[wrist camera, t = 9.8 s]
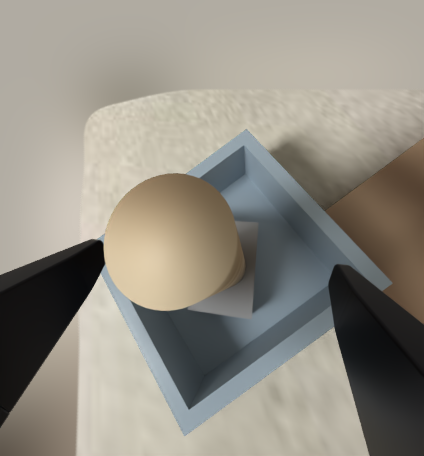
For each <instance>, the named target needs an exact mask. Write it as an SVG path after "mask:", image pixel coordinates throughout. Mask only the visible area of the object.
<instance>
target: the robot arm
mask: <svg viewBox="0 0 424 456" xmlns="http://www.w3.org/2000/svg"><path fill="white" fill-rule="evenodd" d="M105 264H106V263H105V258H104V244H103V242H102V241H101V240H96V239H91V240H88V241H85V242H83V243H80V244H78V245H75V246H73V247H70V248H68V249H65V250H63V251H60V252H57V253H55V254H52V255H50V256H48V257H45V258H42V259H40V260H37V261H35V262H32V263H30V264H27V265H25V266H22V267H19V268H17V269H14V270H12V271H10V272H7V273H4V274H2V275H0V428H1V426H2V425H3V423H4V422H5V420H6V419H7V417H8V415H9V414H10V413H9V412H11V411H12V409H13V408H14V406H15V405H16V403H17V402H18V400H19V399H20V397H21V396H22V394H23V393H24V391H25V390H26V388H27V387H28V385H29V384H30V382H31V381H32V379H33V378H34V376H35V375H36V373H37V372H38V370H39V369H40V367H41V366H42V364H43V363H44V361H45V359H46V358H47V357H48V355H49V353H50V352H51V351H52V349H53V347H54V346H55V344H56V343H57V342H58V340H59V338H60V337H61V336H62V334H63V333H64V331H65V330H66V328H67V326H68V325H69V324H70V322H71V321H72V319H73V317H74V316H75V315H76V313H77V312H78V310H79V309H80V307H81V306H82V304H83V302H84V301H85V299H86V298H87V296H88V295H89V293H90V292H91V290H92V288H93V286H94V284H95V283H96V281H97V279H98V277H99V275H100V273H101V271H102V270H103V268H104V266H105ZM328 289H329V295H330V302H331V308H332V315H333V321H334V327H335V332H336V336H337V340H338V343H339V347H340V350H341V354H342V358H343V361H344V365H345V369H346V372H347V376H348V379H349V383H350V387H351V390H352V394H353V397H354V401H355V405H356V408H357V412H358V416H359V419H360V423H361V426H362V430H363V434H364V437H365V441H366V444H367V448H368V452H369V455H370V456H424V324H423V323H422V322H420V321H419V320H418V319H417V318H415V317H414V316H413V315H411V314H410V313H409V312H408V311H406V310H405V309H404V308H403V307H401V306H400V305H399V304H398V303H396V302H395V301H394V300H393V299H391V298H390V297H389V296H388V295H386V294H385V293H384V292H383V291H381V290H380V289H379V288H377V287H376V286H375V285H374V284H372V283H371V282H370V281H369V280H367V279H366V278H365V277H364V276H362V275H361V274H360V273H359V272H357V271H356V270H355V269H354V268H352V267H351V266H349V265H344V264H336V265H335V266H334V267H333V270H332V273H331V276H330V279H329V283H328Z"/></svg>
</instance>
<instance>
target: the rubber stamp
mask: <svg viewBox="0 0 424 456" xmlns="http://www.w3.org/2000/svg"><path fill="white" fill-rule="evenodd" d="M258 224H259V223H257V222H242V221H235V220H234V216H233V214H232V211H231V209H230V207H229V205H228V203H227V201H226V200H225V198H224V197H223V196H222V195H221V193H220V192H219V191H218V190H217V189H216V188H214V187H213V186H212V185H210V184H209V183H208V182H206V181H204V180H202V179H200V178H197V177H194V176H191V175H187V174H178V173H175V174H164V175H159V176H156V177H153V178H150V179H148V180H145V181H144V182H142V183H140V184H138V185H137V186H136V187H134V188H133V189H131V190H130V191H129V192H128V193H127V194H126V195H125V196H124V197H123V198H122V199H121V201H120V202H119V203H118V205H117V206H116V208H115V209H114V211H113V213H112V215H111V217H110V219H109V222H108V224H107V228H106V231H105V237H104V258H105V263H106V267H107V270H108V272H109V275H110V277H111V279H112V281H113V282H114V284H115V285H116V287H117V288H118V289H119V290H120V291H121V292H122V294H123V295H125V296H126V297H127V298H128V299H130V300H131V301H133V302H134V303H136V304H138V305H140V306H143V307H145V308H148V309H153V310H160V311H171V310H178V309H182V308H186V307H188V310H193V311H199V312H206V313H213V314H219V315H226V316H232V317H239V318H246V319H252V308H253V294H254V280H255V266H256V252H257V238H258Z"/></svg>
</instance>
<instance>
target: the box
mask: <svg viewBox="0 0 424 456" xmlns="http://www.w3.org/2000/svg"><path fill="white" fill-rule="evenodd" d="M186 174H187V175H191V176H194V177H197V178H200V179H202V180H204V181H206V182H208V183H209V184H210V185H212V186H213V187H214V188H216V189H217V190H218V191H219V192H220V193H221V195H222V196H223V197H224V198H225V200H226V201H227V203H228V205H229V207H230V209H231V211H232V214H233V216H234V220H235V221H242V222H257V223H259V224H258V238H257V252H256V266H255V280H254V294H253V308H252V319H246V318H239V317H232V316H226V315H219V314H213V313H206V312H199V311H193V310H188V307H186V308H182V309H178V310H171V311H160V310H153V309H148V308H145V307H143V306H140V305H138V304H136V303H134V302H133V301H131V300H130V299H128V298H127V297H126V296H125V295H123V294H122V292H121V291H120V290H119V289H118V288H117V287H116V285H115V284H114V282H113V281H112V279H111V277H110V275H109V272H108V270H107V267H106V264H105V266H104V268H103V270H102V271H101V275H102V277H103V279H104V281H105V282H106V284H107V286H108V288H109V290H110V292H111V294H112V296H113V298H114V300H115V302H116V304H117V306H118V308H119V310H120V312H121V314H122V316H123V318H124V319H125V321H126V323H127V325H128V327H129V329H130V331H131V333H132V335H133V337H134V339H135V341H136V343H137V345H138V347H139V349H140V351H141V353H142V355H143V357H144V358H145V360H146V362H147V364H148V366H149V368H150V370H151V372H152V374H153V376H154V378H155V380H156V382H157V384H158V386H159V388H160V390H161V392H162V394H163V395H164V397H165V399H166V401H167V403H168V405H169V407H170V409H171V411H172V413H173V415H174V417H175V419H176V421H177V423H178V425H179V427H180V429H181V431H182V433H183V434H184V436H186V435H187V434H188V433H190V432H191V431H192V430H194V429H195V428H197V427H198V426H199V425H201V424H202V423H203V422H205V421H206V420H207V419H209V418H210V417H212V416H213V415H214V414H216V413H217V412H218V411H220V410H221V409H222V408H224V407H225V406H226V405H228V404H229V403H231V402H232V401H233V400H235V399H236V398H237V397H239V396H240V395H241V394H243V393H244V392H246V391H247V390H248V389H250V388H251V387H252V386H254V385H255V384H256V383H258V382H259V381H261V380H262V379H263V378H265V377H266V376H267V375H269V374H270V373H271V372H273V371H274V370H275V369H277V368H278V367H280V366H281V365H282V364H284V363H285V362H286V361H288V360H289V359H290V358H292V357H293V356H295V355H296V354H297V353H299V352H300V351H301V350H303V349H304V348H305V347H307V346H308V345H309V344H311V343H312V342H314V341H315V340H316V339H318V338H319V337H320V336H322V335H323V334H324V333H326V332H327V331H329V330H330V329H331V328H333V327H334V321H333V315H332V308H331V302H330V295H329V289H328V283H329V279H330V276H331V273H332V270H333V267H334V266H335V265H336V264H344V265H349V266H351V267H352V268H354V269H355V270H356V271H357V272H359V273H360V274H361V275H362V276H364V277H365V278H366V279H367V280H369V281H370V282H371V283H372V284H374V285H375V286H376V287H377V288H379V289H380V290H381V291H383V290H384V289H386V288H387V287H388V286H390V285H391V284H393V283H392V282H391V281H390V280H389V279H388V278H387V276H386V275H385V274H384V273H383V272H382V271H381V270H380V269H379V268H378V267H377V266H376V265H375V264H374V263H373V262H372V261H371V260H370V259H369V257H368V256H367V255H366V254H365V253H364V252H363V251H362V250H361V249H360V248H359V247H358V246H357V245H356V244H355V243H354V242H353V241H352V240H351V239H350V237H349V236H348V235H347V234H346V233H345V232H344V231H343V230H342V229H341V228H340V227H339V226H338V225H337V224H336V223H335V222H334V221H333V220H332V219H331V217H330V216H329V215H328V214H327V213H326V212H325V211H324V210H323V209H322V208H321V207H320V206H319V205H318V204H317V203H316V202H315V201H314V200H313V199H312V197H311V196H310V195H309V194H308V193H307V192H306V191H305V190H304V189H303V188H302V187H301V186H300V185H299V184H298V183H297V182H296V181H295V180H294V178H293V177H292V176H291V175H290V174H289V173H288V172H287V171H286V170H285V169H284V168H283V167H282V166H281V165H280V164H279V163H278V162H277V161H276V160H275V158H274V157H273V156H272V155H271V154H270V153H269V152H268V151H267V150H266V149H265V148H264V147H263V146H262V145H261V144H260V143H259V142H258V141H257V140H256V138H255V137H254V136H253V135H252V134H251V133H250V132H249V131H248V130H247V129H246V130H245V131H243V132H242V133H240V134H239V135H238V136H236V137H235V138H234V139H232V140H231V141H230V142H228V143H227V144H226V145H224V146H223V147H221V148H220V149H219V150H217V151H216V152H215V153H213V154H212V155H211V156H209V157H208V158H207V159H205V160H204V161H203V162H201V163H200V164H198V165H197V166H196V167H194V168H193V169H192V170H190V171H189V172H188V173H186ZM104 237H105V234H104V235H102V236H101V237H100V238H98V239H97V240H101V241H102V242H103V244H104Z"/></svg>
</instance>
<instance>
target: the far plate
mask: <svg viewBox="0 0 424 456" xmlns="http://www.w3.org/2000/svg"><path fill="white" fill-rule="evenodd" d="M325 212H326V213H327V214H328V215H329V216H330V217H331V219H332V220H333V221H334V222H335V223H336V224H337V225H338V226H339V227H340V228H341V229H342V230H343V231H344V232H345V233H346V234H347V235H348V236H349V237H350V239H351V240H352V241H353V242H354V243H355V244H356V245H357V246H358V247H359V248H360V249H361V250H362V251H363V252H364V253H365V254H366V255H367V256H368V257H369V259H370V260H371V261H372V262H373V263H374V264H375V265H376V266H377V267H378V268H379V269H380V270H381V271H382V272H383V273H384V274H385V275H386V276H387V278H388V279H389V280H390V281H391V282H392V283H393V284H391V285H390V286H388V287H387V288H386V289H384V290H383V292H384V293H385V294H386V295H388V296H389V297H390V298H391V299H393V300H394V301H395V302H396V303H398V304H399V305H400V306H401V307H403V308H404V309H405V310H406V311H408V312H409V313H410V314H411V315H413V316H414V317H415V318H417V319H418V320H419V321H420V322H422V323H423V324H424V138H423V139H422V140H420V141H419V142H418V143H416V144H415V145H414V146H412V147H411V148H410V149H408V150H407V151H405V152H404V153H403V154H401V155H400V156H399V157H397V158H396V159H395V160H393V161H392V162H391V163H389V164H388V165H386V166H385V167H384V168H382V169H381V170H380V171H378V172H377V173H376V174H374V175H373V176H372V177H370V178H369V179H367V180H366V181H365V182H363V183H362V184H361V185H359V186H358V187H357V188H355V189H354V190H353V191H351V192H350V193H348V194H347V195H346V196H344V197H343V198H342V199H340V200H339V201H338V202H336V203H335V204H333V205H332V206H331V207H329V208H328V209H327V210H325Z"/></svg>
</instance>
